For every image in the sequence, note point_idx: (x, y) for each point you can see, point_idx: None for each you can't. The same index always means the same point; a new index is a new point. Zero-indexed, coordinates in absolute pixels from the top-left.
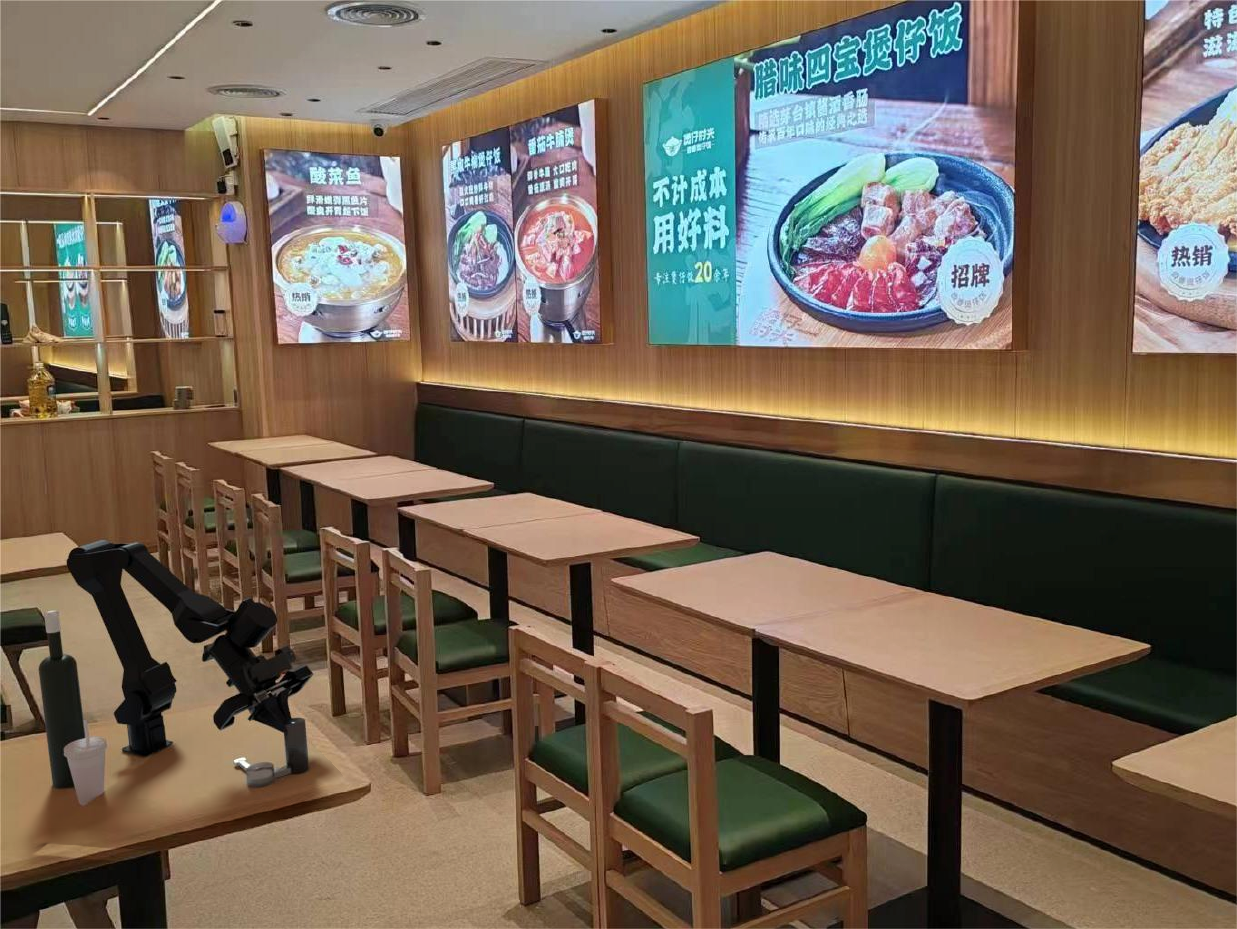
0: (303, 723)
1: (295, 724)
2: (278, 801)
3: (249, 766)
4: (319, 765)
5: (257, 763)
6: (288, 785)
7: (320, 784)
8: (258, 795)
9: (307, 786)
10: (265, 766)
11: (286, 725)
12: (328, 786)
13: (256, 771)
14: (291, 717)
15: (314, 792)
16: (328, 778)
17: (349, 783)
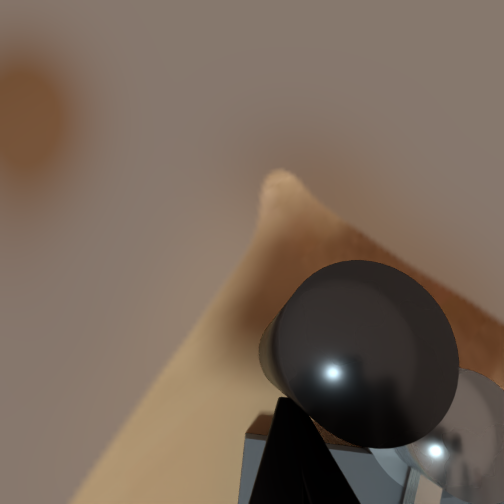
0: (347, 261)
1: (400, 296)
2: (440, 296)
3: (490, 497)
4: (195, 346)
5: (447, 483)
6: None
7: (305, 254)
8: None
9: None
10: (447, 414)
11: (452, 353)
12: (305, 226)
13: (500, 416)
14: (255, 490)
15: (350, 239)
16: (265, 257)
17: (269, 188)
